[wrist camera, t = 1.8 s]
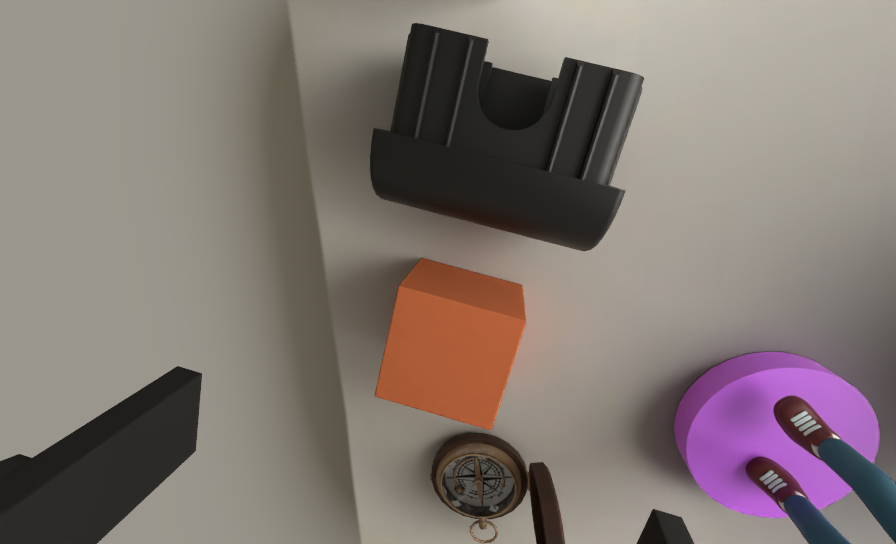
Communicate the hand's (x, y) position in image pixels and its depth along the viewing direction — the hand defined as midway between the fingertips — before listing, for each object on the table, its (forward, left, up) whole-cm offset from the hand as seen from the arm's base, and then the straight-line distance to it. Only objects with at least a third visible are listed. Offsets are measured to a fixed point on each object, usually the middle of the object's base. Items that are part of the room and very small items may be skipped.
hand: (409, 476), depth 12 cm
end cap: (-7, +7, -14) cm, 17 cm away
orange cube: (0, 0, -14) cm, 14 cm away
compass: (+11, -4, -14) cm, 19 cm away
